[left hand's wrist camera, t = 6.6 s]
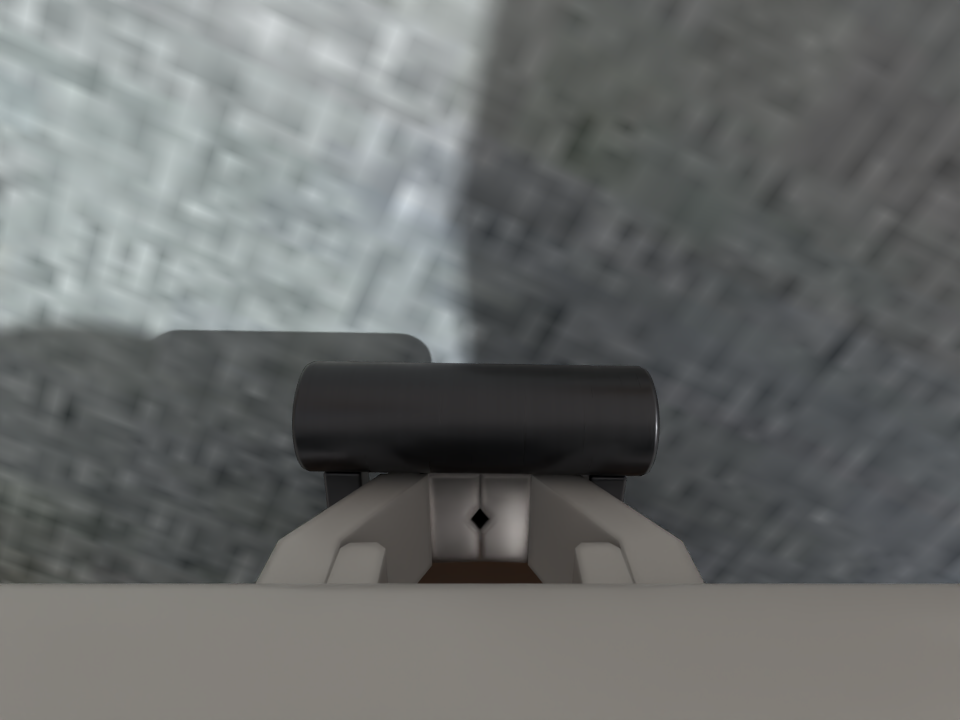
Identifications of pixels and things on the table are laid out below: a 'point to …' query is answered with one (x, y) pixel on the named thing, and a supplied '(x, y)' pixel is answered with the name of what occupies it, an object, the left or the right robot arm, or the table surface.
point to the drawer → (474, 429)
